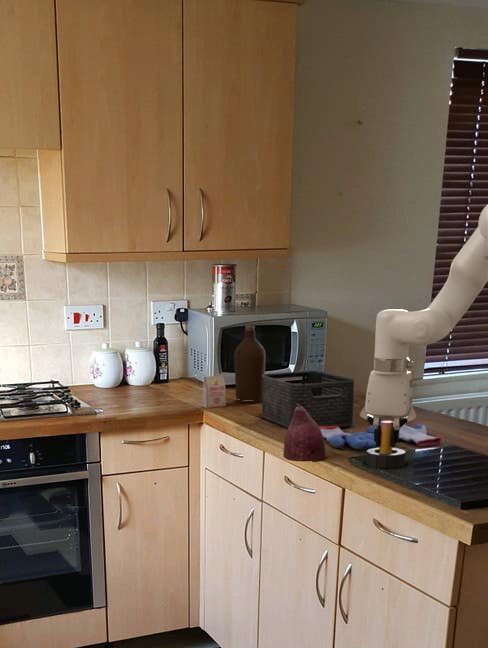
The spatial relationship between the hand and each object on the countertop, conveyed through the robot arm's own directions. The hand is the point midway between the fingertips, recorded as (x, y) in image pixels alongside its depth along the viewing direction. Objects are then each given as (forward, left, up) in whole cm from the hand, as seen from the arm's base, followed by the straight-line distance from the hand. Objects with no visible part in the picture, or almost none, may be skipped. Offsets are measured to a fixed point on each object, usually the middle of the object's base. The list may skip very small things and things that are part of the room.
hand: (386, 444), depth 206 cm
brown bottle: (+62, -79, -5) cm, 100 cm away
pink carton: (+70, -66, -5) cm, 96 cm away
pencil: (0, 0, -5) cm, 5 cm away
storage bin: (+33, -47, -5) cm, 58 cm away
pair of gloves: (+7, -26, -5) cm, 27 cm away
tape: (0, 0, -5) cm, 5 cm away
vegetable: (+20, -1, -5) cm, 21 cm away
